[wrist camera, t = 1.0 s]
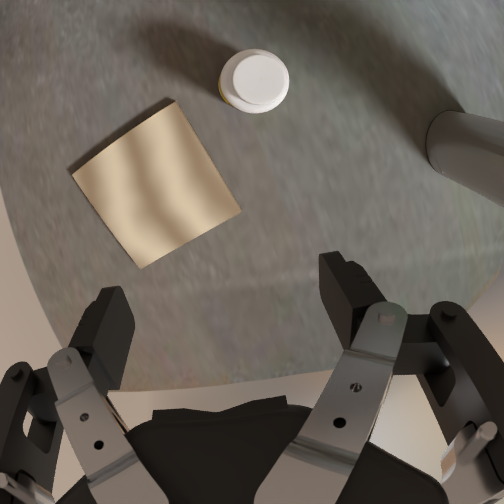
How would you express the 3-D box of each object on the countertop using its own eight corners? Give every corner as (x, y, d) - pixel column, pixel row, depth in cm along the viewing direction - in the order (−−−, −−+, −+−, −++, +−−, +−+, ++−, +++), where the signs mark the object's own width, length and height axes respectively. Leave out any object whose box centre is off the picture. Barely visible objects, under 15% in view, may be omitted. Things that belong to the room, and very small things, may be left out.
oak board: (176, 101, 30) (175, 101, 29) (240, 208, 36) (241, 211, 35) (75, 172, 31) (71, 174, 30) (141, 265, 38) (140, 269, 37)
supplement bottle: (217, 109, 30) (219, 114, 21) (219, 59, 28) (221, 42, 19) (271, 110, 31) (295, 117, 22) (273, 61, 29) (298, 47, 20)
